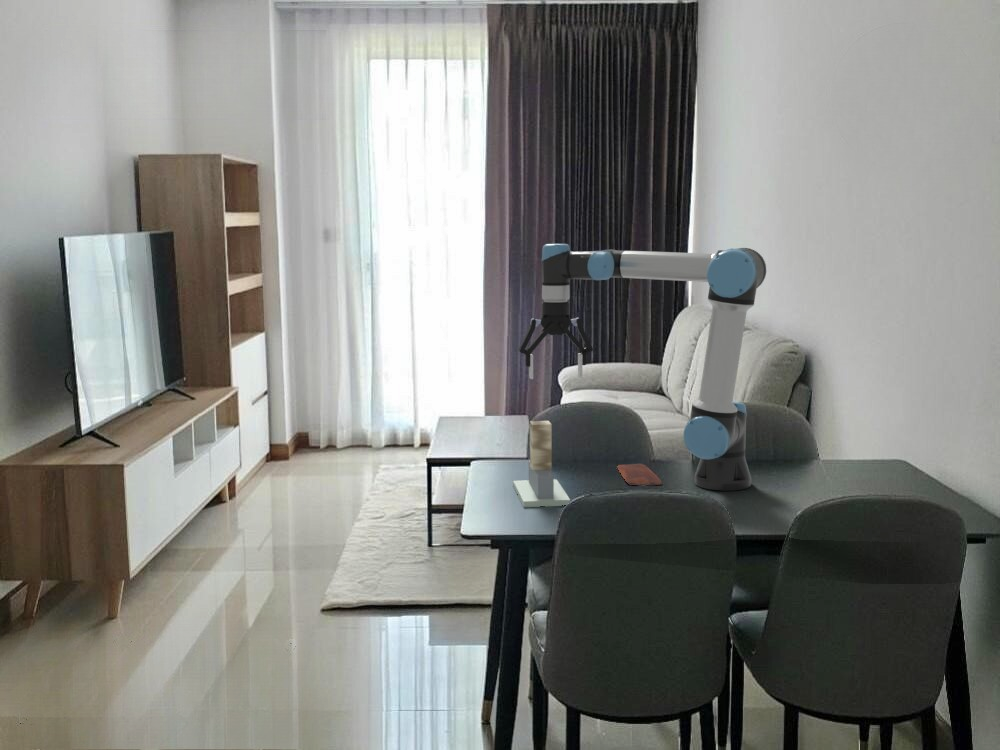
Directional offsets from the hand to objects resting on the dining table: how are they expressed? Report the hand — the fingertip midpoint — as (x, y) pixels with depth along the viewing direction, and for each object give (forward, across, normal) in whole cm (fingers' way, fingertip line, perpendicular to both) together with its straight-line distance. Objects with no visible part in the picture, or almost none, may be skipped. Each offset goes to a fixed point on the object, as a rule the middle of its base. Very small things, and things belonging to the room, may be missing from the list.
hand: (555, 377), depth 302 cm
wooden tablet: (+30, -24, -3) cm, 38 cm away
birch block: (+21, +7, +17) cm, 28 cm away
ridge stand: (+29, +7, +17) cm, 34 cm away
